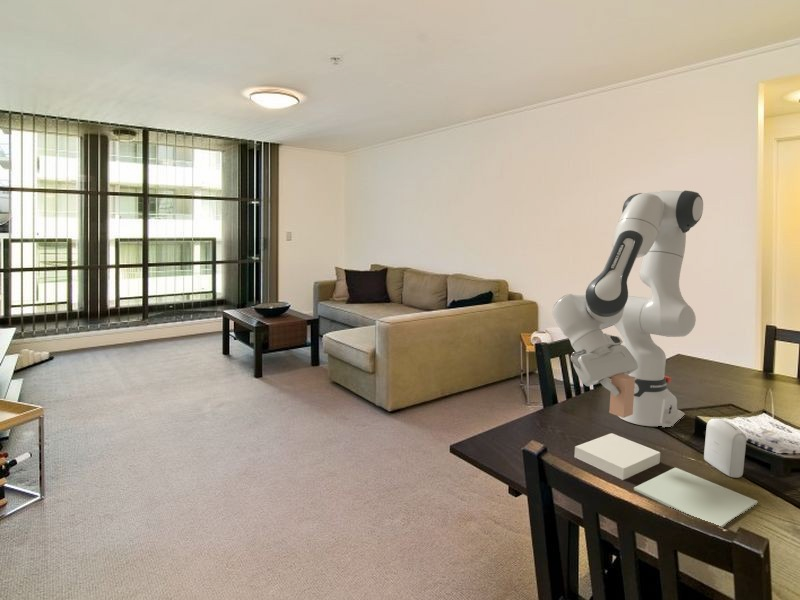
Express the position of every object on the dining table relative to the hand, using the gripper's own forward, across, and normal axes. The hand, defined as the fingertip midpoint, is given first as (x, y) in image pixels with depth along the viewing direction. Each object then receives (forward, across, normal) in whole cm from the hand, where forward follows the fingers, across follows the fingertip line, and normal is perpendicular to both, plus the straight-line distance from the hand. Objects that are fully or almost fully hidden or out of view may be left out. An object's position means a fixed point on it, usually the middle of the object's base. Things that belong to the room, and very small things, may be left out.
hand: (624, 392), depth 123 cm
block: (+4, 0, +5) cm, 6 cm away
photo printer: (+25, +18, +2) cm, 31 cm away
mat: (+27, -2, 0) cm, 27 cm away
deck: (+13, -1, +14) cm, 19 cm away
